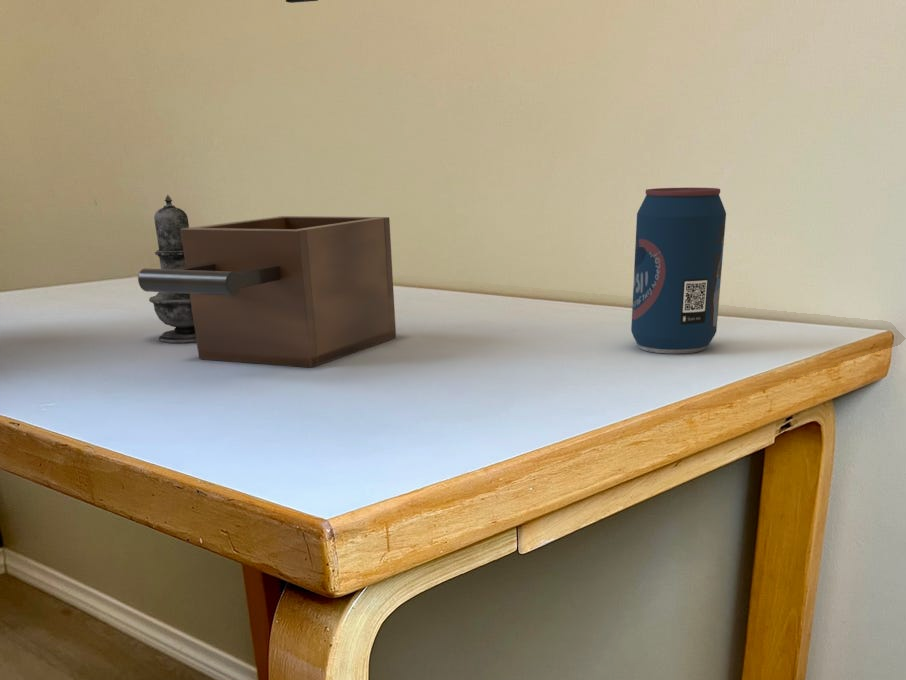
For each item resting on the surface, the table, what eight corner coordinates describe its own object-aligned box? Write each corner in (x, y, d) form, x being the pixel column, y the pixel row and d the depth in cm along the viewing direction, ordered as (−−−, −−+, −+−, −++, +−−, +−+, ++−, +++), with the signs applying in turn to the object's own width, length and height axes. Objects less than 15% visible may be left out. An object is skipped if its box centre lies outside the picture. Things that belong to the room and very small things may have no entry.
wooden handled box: (293, 331, 95) (282, 216, 90) (396, 337, 90) (389, 217, 86) (138, 376, 77) (114, 236, 73) (256, 387, 73) (238, 239, 69)
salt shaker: (179, 331, 96) (159, 193, 90) (233, 333, 94) (215, 193, 89) (141, 342, 91) (117, 197, 86) (197, 344, 89) (176, 196, 84)
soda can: (617, 342, 86) (624, 188, 80) (692, 337, 87) (703, 186, 82) (651, 357, 80) (660, 192, 74) (730, 351, 81) (745, 189, 76)
